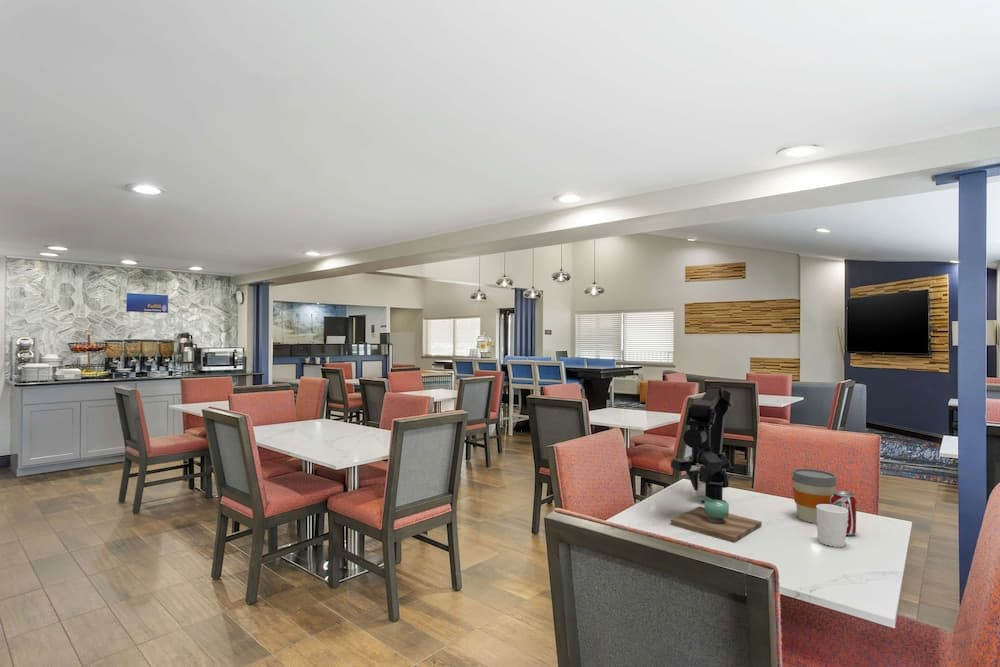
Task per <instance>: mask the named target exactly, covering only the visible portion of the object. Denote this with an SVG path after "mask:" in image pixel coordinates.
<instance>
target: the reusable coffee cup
mask: <svg viewBox="0 0 1000 667" xmlns="http://www.w3.org/2000/svg"><path fill="white" fill-rule="evenodd" d="M792 481H793V487H792V493H793V500H794V503H795V504H796V505H795V506H796V514H797V519H799V518H800V519H802V520H801V521H803V520H804V521H803V522H805V521H808V522H807V523H809V522H814V523H813V524H815V523H817V512H816V506H817V505H819V504H829V505H830V497H831V496H832V495H833V491H836V490H835V489H836V486H837V476H836V474H834V473H832V472H829V471H825V470H821V469H820V470H819V469H812V468H796V469H793V470H792ZM800 519H799V520H800Z"/></svg>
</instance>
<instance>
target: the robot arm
mask: <svg viewBox="0 0 1000 667" xmlns="http://www.w3.org/2000/svg"><path fill="white" fill-rule="evenodd" d="M733 405H734V398H733V394H732V393H731V392H729V391H727V390H725V389H724V387H723V386H720V385H709V386H707V388H706V391H705V393H704V394H703V396H702V397H701V399H700V400H696V401H694V402H692V403H691V405H690V406H689V408H688V410H687V415H686V419H685V425H686V426H689V429H687V430H686V431H684V433H683V436H682V438H683V442H684V444H685V445H686V446H687V447H688V448H691V456H689V458H688V459H689V460H687V459H684V458H673V459H672V460H671V461H670V468H672V469H674V470H676V471H679V472H685V473H686V474H687V476H688V478H689V480H690V484H691V485H692V488H693V491H695V492H696V491H697V488H698V481H702V482H705V483H706V489H705V496H707V497H709V498H710V499H712V500H720V501H724V502H727V501H726V499H725V500H724V499H723V491H724V490H723V489H726V488H730V485H729V484H730V483H729V476H728V474H727V470H730V469H731V462H730V460H729V459H728V458H727V455H726V454H725V453H723V444H724V433H725V432H724V431H725V422H726V418H727V417H728V415H729V414H730V413H731V410H732V407H733ZM698 468H699V470H698ZM698 476H699V478H698ZM700 501H701V502H702V503H705V501H703V500H702V499H700Z"/></svg>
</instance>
